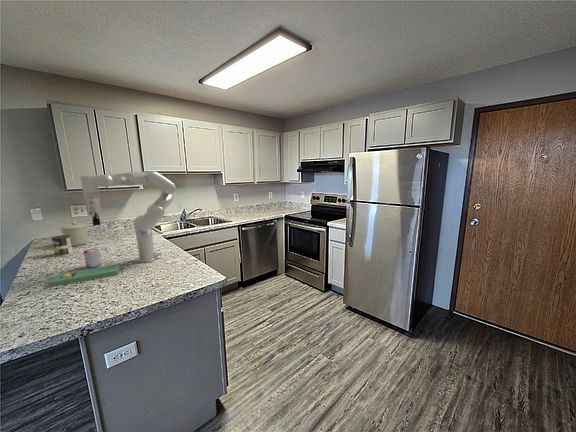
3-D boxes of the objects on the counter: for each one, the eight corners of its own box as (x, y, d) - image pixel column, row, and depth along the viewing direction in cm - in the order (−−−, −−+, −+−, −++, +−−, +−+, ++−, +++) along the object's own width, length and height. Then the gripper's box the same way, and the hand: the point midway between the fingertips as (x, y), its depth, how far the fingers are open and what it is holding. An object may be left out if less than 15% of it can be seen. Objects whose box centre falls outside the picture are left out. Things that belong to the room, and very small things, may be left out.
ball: (64, 271, 136) (62, 277, 136) (62, 274, 133) (60, 281, 133) (73, 272, 138) (71, 278, 138) (71, 275, 135) (69, 282, 135)
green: (120, 267, 153) (119, 264, 153) (117, 274, 143) (117, 270, 142) (58, 278, 139) (58, 274, 139) (51, 286, 129) (50, 282, 128)
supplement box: (101, 264, 159) (99, 248, 157) (92, 268, 153) (89, 251, 151) (95, 264, 160) (92, 248, 158) (86, 267, 155) (82, 250, 153)
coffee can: (61, 257, 176) (57, 238, 173) (51, 256, 178) (47, 238, 175) (76, 252, 185) (73, 235, 183) (66, 251, 188) (63, 234, 185)
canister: (79, 247, 198) (74, 223, 194) (58, 248, 198) (53, 223, 194) (96, 241, 216) (92, 219, 212) (77, 241, 216) (73, 219, 212)
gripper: (96, 196, 139) (102, 226, 142) (101, 194, 152) (106, 222, 155) (80, 197, 135) (86, 228, 139) (87, 195, 148) (92, 223, 152)
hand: (97, 224), depth 147 cm, fingers closed
